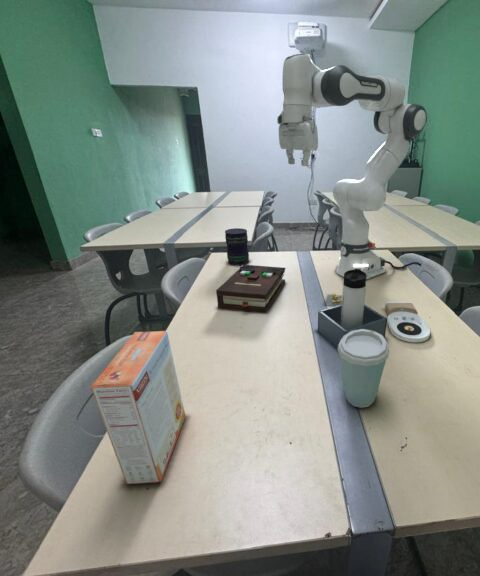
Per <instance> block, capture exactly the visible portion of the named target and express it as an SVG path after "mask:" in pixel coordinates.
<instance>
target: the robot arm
mask: <svg viewBox="0 0 480 576" xmlns="http://www.w3.org/2000/svg"><path fill="white" fill-rule="evenodd" d="M281 83H282V84H281V85H282V92H283V93H282V94H283V103H282V111H281V113H280V114H279V115H278V116H277V117H276V120H277V121H276V122H277V124H278V125H279V126H278V141H279V142H278V143H279V148H280V149H281V150H285V154H286V157H287V162H288V163H287V164H288V165H295V164H296V163H295V162H296V160H295V158H294V151H302V159H301V161H300V163H301V166H302V167H309V160H310V157H311V153H312V152H313V151H318V147H319V133H318V126H317V124H316V120H315V118H314V116H313V108H316V109H320V108H328V107H329V108H331V107H344V106H347V105H349V104H350V103H352V102H354V101H357V103H358V104H359V106H360V107H361V109H363V110H365V111H370V112H374V114H373V127H374V129H375V130H376V132H377V133H379V134H383V135H387V136H386V139H385V141H384V142H383V143H382V144H381V145H380V147H378V148H377V150H376V151H375V152H374V153H373V154H372V156H371V157H370V158H369V159H368V161H367V162H366V164H365V169H364V170H365V176H364V177H363V178H361V179H360V180H359V179H353V178H345V179H341V180H339V181H337V182H336V183H335V184H334V187H333V189H332V195H333V199H334V200H335V202H336V203H337V206H338V209H339V212H340V216H341V225H342V226H341V229H342V230H341V231H342V232H341V240H340V245H339V246H340V247H339V248H340V249H339V250H340V251H339V252H340V254H339V255H340V256H339V258H338V259H339V262H338V264H337V265H338V266H337V268H336V275H338V276H340V277H343V278H344V273H345V272H347V271H349V270H355V269H361V271H363V272H365V273H366V275H367V277H366V281H368V280H369V279H372V278H374V277H377V276H379V275H382V274H384V273H386V268H385V266H386V264H388V265H389V266H390V267H391V268H393V269H397V270H402V269H405V268H407V267H409V266H412V265H417V266H420V267H421V266H422V264H421V263H420V262H418V261H413V262H410V263H407V264H403V265H402V266H395V265H394V264H393V263H392V262H391V261H388V260H386V259H384V258H383V257H381V256H378V255H377V254H376V253H375V252H374V251H372V250H371V248H372V249H374V248H375V247H376V243H375V242H373V241H371V242H370V241H369V234H370V223H369V221H368V220H367V218H366V216H365V213H364V212H378V211H379V210H381V209H382V208H383V207H384V205H385V204H386V200H387V193H386V185H387V184H388V182H389V180H390V179H391V177H392V176H393V175H394V173H395V172H396V171H397V170H398V168H399V167H400V166H401V165H402V164H403V162H404V160H405V159H406V157H407V155H408V154H409V151H410V148H411V146H410V142H412V141H414V140H415V139H417V137H418V136H419V135H420V134H421V133H422V131H423V130H424V128H425V126H426V124H427V118H428V115H427V110H426V108H425V107H424V106H423V105H421V104H417V103H405V102H404V100H405V97H406V89H405V86H404V83H403V82H402V81H400V80H399V79H397V78H394V77H392V76H387V75H382V74H372V75H367V76H364V75H360V74H357V73H355V72H354V71H353V70H351V69H350V68H349V67H348V66H346V65H343V64H338V65H335V66H332V67H330V68H328V69H323V70H322V69H321V68H319V67H318V66H317V65H316V64H315V63H314V62H313V60H312V59H311V56H310V54H308V53H295V54H292V55H289V56H287V57H285V59H284V61H283V66H282V82H281ZM311 151H312V152H311Z"/></svg>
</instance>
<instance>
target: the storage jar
mask: <svg viewBox="0 0 480 576" xmlns="http://www.w3.org/2000/svg"><path fill="white" fill-rule="evenodd" d="M224 234H225V235H224V236H225V238H224V239H225V244H226V250H227V251H226V257H227V264H228V265H230V266H233V267H234V266H236V267H238V266H237V265H242V266H243V265H249V263H250V260H249V259H250V254H249V253H250V251H249V248H248V247H249V246H248V244H249V240H248V238H249V237H248V230H247V229H245V228H238V227H237V228H228V229H226V230H224Z"/></svg>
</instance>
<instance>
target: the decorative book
mask: <svg viewBox="0 0 480 576" xmlns="http://www.w3.org/2000/svg"><path fill="white" fill-rule="evenodd" d="M236 267H238V269H237V270H236V271H235V272H234V273H233V274H232V275H231V276H230V277H229V278H228V279H226V281H225V282H223V283H222V284H221V285H220V286H219V287H218V288H217V289H216V290H215V292H216V302H217V308H218V309H220V310H230V311H231V310H232V311H240V312H250V313H252V312H253V313H262V314H267V313H268V311H269V310H270V308H271V307H272V305H273V303H274V302H275V300H276V299H277V297H278V295H279V294H280V293H281V290H282V289H283V288H284V286H285V284H286V279H285V278H284V276H285V273H286V267H282V266H281V267H280V266H267V265H253V264H245V265H237V266H236ZM283 278H284V279H283Z"/></svg>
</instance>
